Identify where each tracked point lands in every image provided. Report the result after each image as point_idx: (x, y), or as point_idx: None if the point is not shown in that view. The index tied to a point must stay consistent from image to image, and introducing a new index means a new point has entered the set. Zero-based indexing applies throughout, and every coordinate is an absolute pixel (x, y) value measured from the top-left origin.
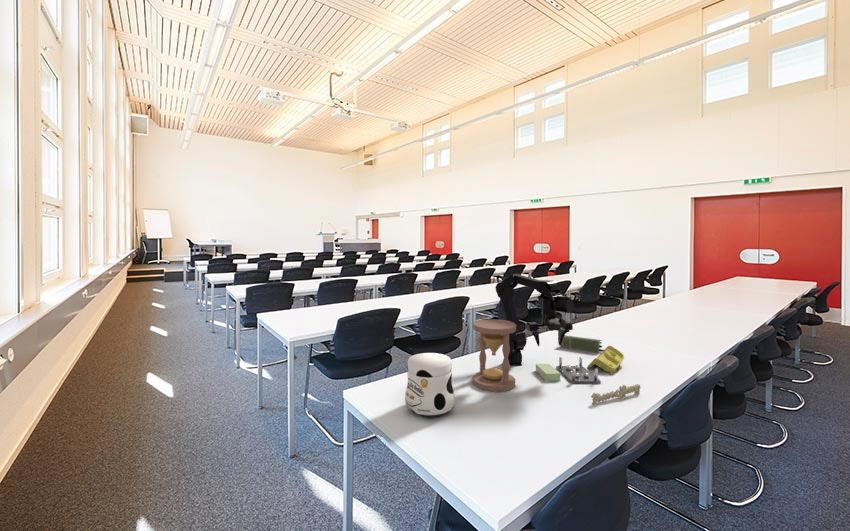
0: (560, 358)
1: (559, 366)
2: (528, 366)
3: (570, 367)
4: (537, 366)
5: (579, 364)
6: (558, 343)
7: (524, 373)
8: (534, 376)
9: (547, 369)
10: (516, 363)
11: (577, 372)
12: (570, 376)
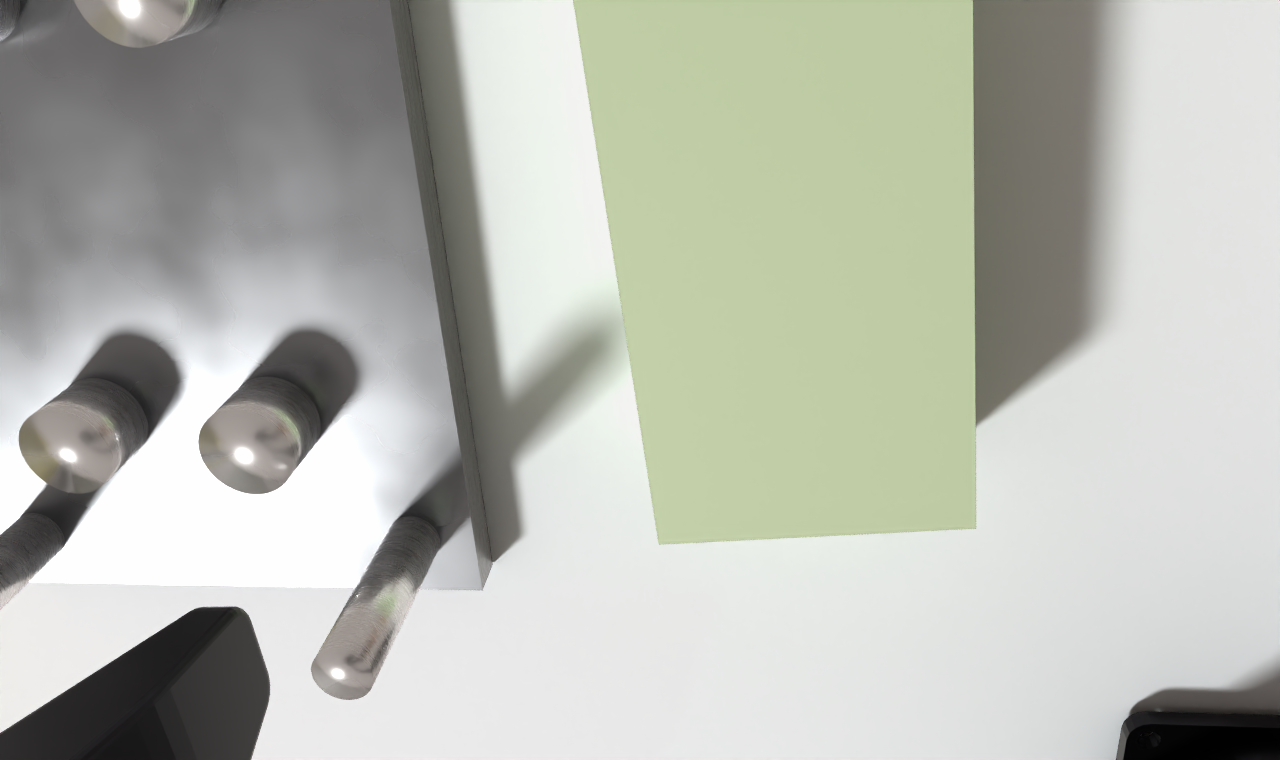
0: (357, 640)
1: (430, 537)
2: (1008, 658)
3: (223, 405)
4: (971, 425)
5: (29, 560)
6: (248, 752)
7: (1275, 306)
8: (1116, 126)
9: (817, 172)
10: (1244, 749)
11: (126, 254)
12: (309, 6)
